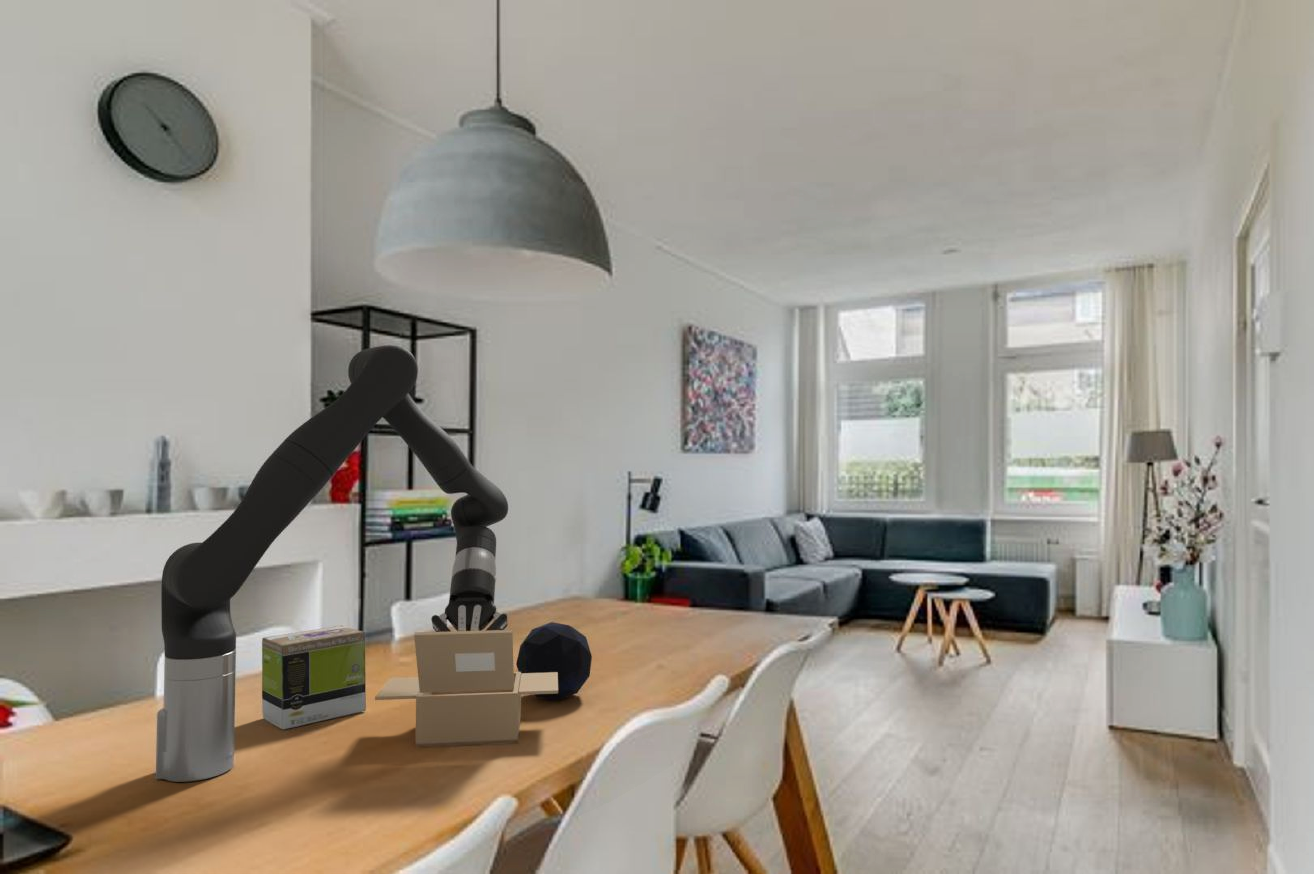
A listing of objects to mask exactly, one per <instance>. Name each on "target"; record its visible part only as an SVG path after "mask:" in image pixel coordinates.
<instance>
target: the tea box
mask: <svg viewBox="0 0 1314 874" xmlns="http://www.w3.org/2000/svg"><path fill="white" fill-rule="evenodd" d="M365 635H366V632H364V631H362V630H357V629H354V628H351V627H347V626H344V625H336V626H330V627H324V628H318V629H310V630H304V631H297V632H290V633H286V634H284V633H283V634H279V635H278V634H277V635H271V636H270V635H269V636H266V637H262V640H261V641H262V642H261V653H262V654H261V665H262V666H261V667H262V668H261V673H262V674H261V675H262V676H261V682H262V683H261V698H262V700H261V706H262V707H261V709H262V711H261V712H262V718H263V719H264V720H265V721H267V722H268V723H270V724H272V725H273V726H276V727H277V728H278V729H281V730H288V729H291V728H297V727H301V726H306V725H309V724H314V723H317V722H322V721H326V720H331V719H336V718H339V717H344V716H349V715H353V714H357V713H362V712H366V710H367V704H366V703H367V701H366V700H367V698H366V697H367V696H366V694H367V693H366V681H367V679H366V674H367V673H366V636H365Z"/></svg>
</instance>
